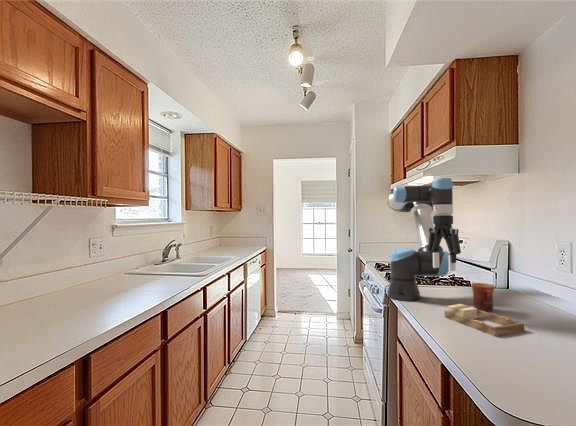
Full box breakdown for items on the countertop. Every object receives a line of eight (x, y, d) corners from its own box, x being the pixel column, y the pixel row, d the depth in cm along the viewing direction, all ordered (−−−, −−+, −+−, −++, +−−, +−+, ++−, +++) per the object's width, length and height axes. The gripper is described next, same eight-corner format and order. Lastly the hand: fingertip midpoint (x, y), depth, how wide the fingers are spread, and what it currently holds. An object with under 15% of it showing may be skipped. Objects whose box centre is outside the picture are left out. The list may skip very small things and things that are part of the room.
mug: (468, 306, 138) (467, 282, 138) (490, 306, 137) (489, 283, 137) (478, 314, 127) (478, 288, 127) (503, 315, 125) (502, 289, 125)
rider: (448, 315, 126) (448, 305, 126) (461, 313, 129) (461, 303, 129) (463, 321, 120) (463, 310, 120) (477, 318, 122) (476, 307, 122)
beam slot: (444, 317, 124) (444, 309, 124) (471, 313, 128) (471, 306, 128) (494, 336, 104) (494, 327, 104) (524, 331, 108) (524, 323, 108)
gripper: (418, 215, 142) (419, 266, 142) (455, 214, 122) (456, 274, 122) (431, 214, 144) (432, 265, 144) (470, 214, 124) (472, 272, 124)
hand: (443, 269), depth 133 cm, fingers open, 8 cm apart
